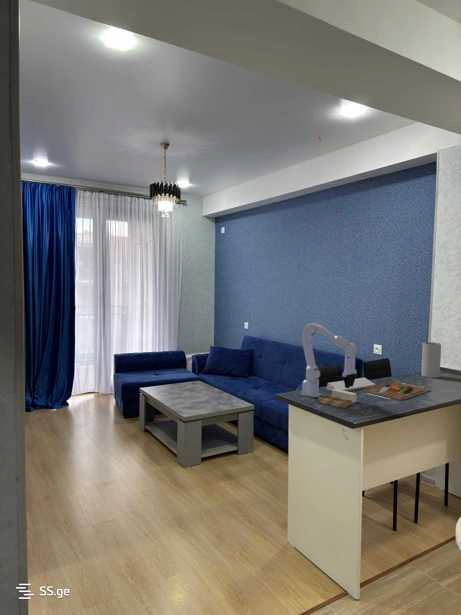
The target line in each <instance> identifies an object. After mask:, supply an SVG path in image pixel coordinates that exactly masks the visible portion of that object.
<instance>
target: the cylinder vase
mask: <svg viewBox="0 0 461 615" xmlns="http://www.w3.org/2000/svg"><path fill="white" fill-rule="evenodd" d="M421 348H422V350H421V352H422V353H421V376H422V377H424V378H428V379H439V378H440V377H441V358H442V357H441V356H442V343H440V342H432V341H431V342H429V341H426V342H425V341H424V342H422V347H421Z"/></svg>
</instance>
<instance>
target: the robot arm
mask: <svg viewBox="0 0 461 615" xmlns="http://www.w3.org/2000/svg"><path fill="white" fill-rule="evenodd" d="M315 334H316V335H317V334H320V335H323V336H325V337H326V338H328V339H330V340H331V341H332V342H333V344H334V345H336V346H337V347H339V348H340V349H341V350H343V351H344V353H345V354H344V371H343V372H342V374H341V377H342V381H344V383H345V388H349V387H350V386H351V387H353V384H354V381H355V379H357V377H358V374H357V373H358V372H357V369H356V351H357V348H358V347H357V345H356V344H355V342H351V341H350V340H347V339H346V338H344V336H343V335H336V334H335V333H333V332H331V330H329V329H327V328H325V326H323V325H322V324H318V322H312V323H311V322H310V323H307V324H306V325H305V326H304V327H303V332H302V335H301V342H302V343H301V344H302V347H303V353H304V358H305V363H306V369H305V379H304V380H303V381H302V385H301V386H302V388H301V390H302V391H301V395H302V396H306V397H311V398H319V397H321V396H322V393H320V392H319V391H320V390H319V389H320V388H319V387H320V386H319V384H320V379H319V378H320V377H321V371H320V370H319V368H318V365H317V364H316V361H315V360H316V359H315V355H314V349H313V345H312V338H313V337H314V336H315Z"/></svg>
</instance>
